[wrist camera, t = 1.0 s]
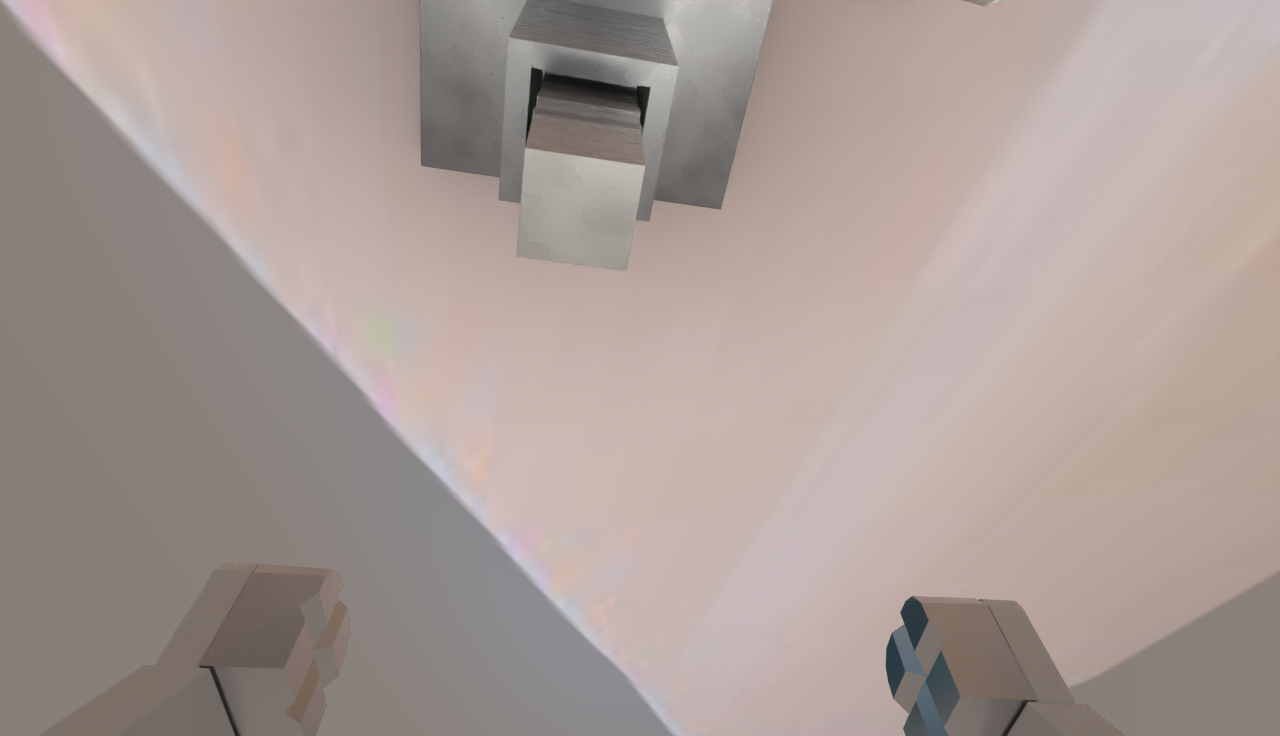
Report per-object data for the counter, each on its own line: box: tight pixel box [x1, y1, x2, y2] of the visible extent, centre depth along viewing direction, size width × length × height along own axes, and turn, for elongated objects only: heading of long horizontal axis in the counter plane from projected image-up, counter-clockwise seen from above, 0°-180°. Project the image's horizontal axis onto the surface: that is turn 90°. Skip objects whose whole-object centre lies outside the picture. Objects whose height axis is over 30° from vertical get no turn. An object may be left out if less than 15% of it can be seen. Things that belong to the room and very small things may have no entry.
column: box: [517, 70, 645, 271], centre depth 32 cm, size 4×4×18 cm
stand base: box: [420, 0, 773, 221], centre depth 36 cm, size 13×18×13 cm
